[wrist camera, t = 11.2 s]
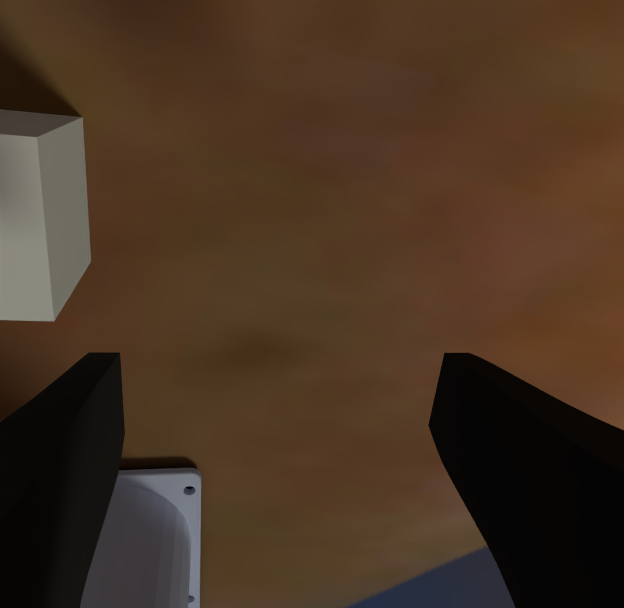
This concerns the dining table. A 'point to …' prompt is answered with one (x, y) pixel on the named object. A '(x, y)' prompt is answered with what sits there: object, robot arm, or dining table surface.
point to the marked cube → (41, 213)
